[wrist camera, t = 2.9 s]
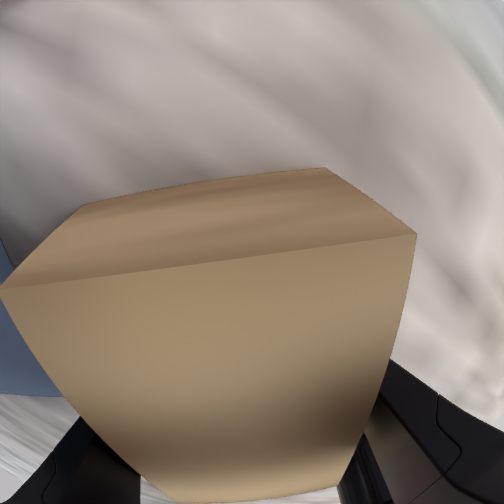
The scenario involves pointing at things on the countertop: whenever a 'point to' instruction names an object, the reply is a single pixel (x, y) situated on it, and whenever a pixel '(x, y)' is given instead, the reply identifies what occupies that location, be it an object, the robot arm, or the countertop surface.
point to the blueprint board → (19, 353)
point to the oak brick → (221, 327)
